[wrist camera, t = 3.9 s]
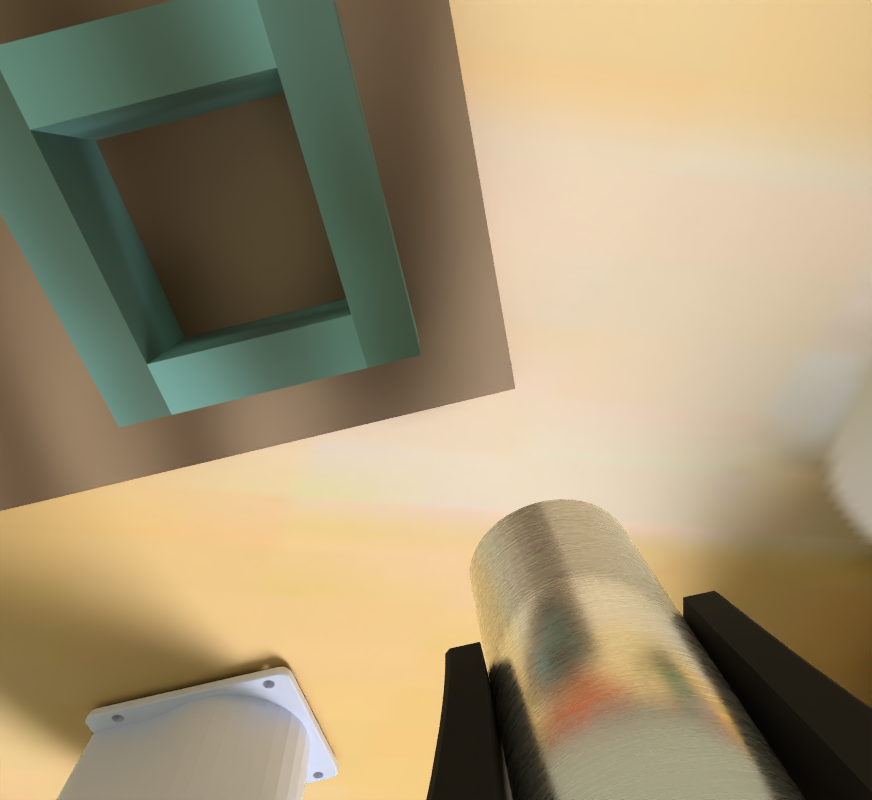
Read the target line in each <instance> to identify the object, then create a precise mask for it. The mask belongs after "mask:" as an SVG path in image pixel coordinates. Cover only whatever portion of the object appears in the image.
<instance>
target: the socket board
mask: <svg viewBox="0 0 872 800" xmlns="http://www.w3.org/2000/svg"><path fill="white" fill-rule="evenodd" d="M511 389H515V385H514V379H513V373H512V367H511V361H510V355H509V349H508V344H507V338H506V332H505V326H504V320H503V314H502V309H501V303H500V297H499V291H498V285H497V279H496V274H495V268H494V262H493V256H492V250H491V244H490V238H489V233H488V227H487V221H486V215H485V209H484V203H483V198H482V192H481V186H480V180H479V174H478V168H477V162H476V157H475V151H474V145H473V139H472V133H471V127H470V122H469V116H468V110H467V104H466V98H465V92H464V87H463V81H462V75H461V69H460V63H459V57H458V51H457V46H456V40H455V34H454V28H453V22H452V16H451V11H450V5H449V0H0V511H2V510H6V509H10V508H14V507H18V506H23V505H27V504H31V503H35V502H40V501H44V500H48V499H52V498H56V497H61V496H65V495H69V494H73V493H77V492H82V491H86V490H90V489H94V488H98V487H103V486H107V485H111V484H115V483H120V482H124V481H128V480H132V479H136V478H141V477H145V476H149V475H153V474H157V473H162V472H166V471H170V470H174V469H178V468H183V467H187V466H191V465H195V464H200V463H204V462H208V461H212V460H216V459H221V458H225V457H229V456H233V455H237V454H242V453H246V452H250V451H254V450H258V449H263V448H267V447H271V446H275V445H280V444H284V443H288V442H292V441H296V440H301V439H305V438H309V437H313V436H317V435H322V434H326V433H330V432H334V431H338V430H343V429H347V428H351V427H355V426H360V425H364V424H368V423H372V422H376V421H381V420H385V419H389V418H393V417H397V416H402V415H406V414H410V413H414V412H418V411H423V410H427V409H431V408H435V407H439V406H444V405H448V404H452V403H456V402H461V401H465V400H469V399H473V398H477V397H482V396H486V395H490V394H494V393H498V392H503V391H507V390H511Z"/></svg>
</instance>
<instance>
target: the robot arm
mask: <svg viewBox="0 0 872 800" xmlns="http://www.w3.org/2000/svg"><path fill="white" fill-rule="evenodd" d="M683 618H684V619H685V621H686V622H687V624H688V625H689V627H690V628H691V630H692V631H693V633H694V634H695V636H696V637H697V639H698V640H699V642H700V643H701V645H702V646H703V648H704V649H705V651H706V652H707V654H708V655H709V657H710V658H711V660H712V661H713V663H714V664H715V666H716V667H717V669H718V670H719V672H720V673H721V674H722V676H723V677H724V679H725V680H726V682H727V683H728V685H729V686H730V688H731V689H732V691H733V692H734V694H735V695H736V697H737V698H738V700H739V701H740V703H741V704H742V706H743V707H744V709H745V710H746V712H747V713H748V715H749V716H750V718H751V719H752V721H753V722H754V724H755V725H756V727H757V728H758V730H759V731H760V733H761V734H762V736H763V737H764V738H765V740H766V741H767V743H768V744H769V746H770V747H771V749H772V750H773V752H774V753H775V755H776V756H777V758H778V759H779V761H780V762H781V764H782V765H783V767H784V768H785V770H786V771H787V773H788V774H789V776H790V777H791V779H792V780H793V782H794V783H795V785H796V786H797V788H798V789H799V791H800V792H801V794H802V795H803V797H804V798H805V800H872V708H870V707H869V706H868V705H866V704H865V703H863V702H862V701H860V700H859V699H858V698H856V697H855V696H853V695H852V694H851V693H849V692H848V691H846V690H845V689H844V688H842V687H841V686H840V685H838V684H837V683H835V682H834V681H833V680H831V679H830V678H829V677H827V676H826V675H824V674H823V673H822V672H820V671H819V670H817V669H816V668H815V667H813V666H812V665H811V664H809V663H808V662H807V661H805V660H804V659H803V658H801V657H800V656H799V655H797V654H796V653H795V652H793V651H792V650H791V649H789V648H788V647H787V646H785V645H784V644H783V643H781V642H780V641H779V640H778V639H776V638H775V637H774V636H772V635H771V634H770V633H768V632H767V631H766V630H764V629H763V628H762V627H761V626H759V625H758V624H757V623H755V622H754V621H753V620H752V619H750V618H749V617H748V616H747V615H745V614H744V613H743V612H741V611H740V610H739V609H738V608H736V607H735V606H734V605H733V604H731V603H730V602H729V601H727V600H726V599H725V598H724V597H722V596H721V595H720V594H718V593H717V592H715V591H711V592H706V593H702V594H697V595H693V596H688V597H683ZM85 723H86V725H87V726H88V728H89V729H90V730H91V731H92V732H93V735H92V737H91V739H90V740H89V742H88V744H87V746H86V748H85V749H84V751H83V753H82V755H81V757H80V758H79V760H78V762H77V764H76V766H75V767H74V769H73V771H72V773H71V775H70V776H69V778H68V780H67V782H66V784H65V785H64V787H63V789H62V791H61V793H60V794H59V796H58V798H57V800H303V797H304V791H305V784H307V783H311V782H316V781H320V780H325V779H329V778H332V777H334V776H336V775H337V773H338V767H339V765H338V762H337V760H336V758H335V756H334V754H333V752H332V750H331V748H330V746H329V744H328V742H327V740H326V738H325V736H324V735H323V733H322V731H321V729H320V727H319V725H318V723H317V721H316V719H315V717H314V715H313V713H312V711H311V709H310V707H309V705H308V703H307V701H306V699H305V697H304V695H303V693H302V691H301V689H300V687H299V685H298V683H297V681H296V679H295V677H294V675H293V674H292V672H291V671H290V669H288V668H286V667H276V668H271V669H267V670H263V671H258V672H254V673H249V674H245V675H241V676H236V677H232V678H228V679H223V680H219V681H214V682H210V683H206V684H201V685H197V686H193V687H188V688H184V689H180V690H175V691H171V692H166V693H162V694H158V695H153V696H149V697H145V698H140V699H136V700H131V701H127V702H123V703H118V704H114V705H110V706H105V707H101V708H97V709H94V710H92V711H91V712H90V713H89V714H88V716H87V718H86V720H85ZM426 800H512V794H511V789H510V784H509V779H508V773H507V768H506V763H505V758H504V753H503V747H502V742H501V737H500V732H499V726H498V721H497V716H496V711H495V706H494V700H493V695H492V690H491V685H490V681H489V676H488V672H487V668H486V664H485V660H484V656H483V652H482V648H481V644H480V642H478V643H473V644H469V645H464V646H459V647H455V648H450V649H449V650H448V651H447V653H446V654H445V683H444V695H443V704H442V712H441V720H440V727H439V734H438V739H437V745H436V751H435V757H434V763H433V769H432V775H431V780H430V785H429V790H428V795H427V799H426Z"/></svg>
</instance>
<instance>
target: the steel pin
mask: <svg viewBox="0 0 872 800" xmlns="http://www.w3.org/2000/svg"><path fill="white" fill-rule="evenodd" d="M470 580H471V585H472V591H473V596H474V601H475V606H476V612H477V617H478V622H479V627H480V632H481V638H482V643H483V648H484V653H485V659H486V664H487V669H488V674H489V679H490V685H491V690H492V695H493V700H494V706H495V711H496V716H497V721H498V726H499V732H500V737H501V742H502V747H503V753H504V758H505V763H506V768H507V773H508V779H509V784H510V789H511V794H512V799H513V800H805V798H804V797H803V795H802V794H801V792H800V791H799V789H798V788H797V786H796V785H795V783H794V782H793V780H792V779H791V777H790V776H789V774H788V773H787V771H786V770H785V768H784V767H783V765H782V764H781V762H780V761H779V759H778V758H777V756H776V755H775V753H774V752H773V750H772V749H771V747H770V746H769V744H768V743H767V741H766V740H765V738H764V737H763V736H762V734H761V733H760V731H759V730H758V728H757V727H756V725H755V724H754V722H753V721H752V719H751V718H750V716H749V715H748V713H747V712H746V710H745V709H744V707H743V706H742V704H741V703H740V701H739V700H738V698H737V697H736V695H735V694H734V692H733V691H732V689H731V688H730V686H729V685H728V683H727V682H726V680H725V679H724V677H723V676H722V674H721V673H720V672H719V670H718V669H717V667H716V666H715V664H714V663H713V661H712V660H711V658H710V657H709V655H708V654H707V652H706V651H705V649H704V648H703V646H702V645H701V643H700V642H699V640H698V639H697V637H696V636H695V634H694V633H693V631H692V630H691V628H690V627H689V625H688V624H687V622H686V621H685V619H684V618H683V616H682V615H681V613H680V612H679V610H678V609H677V608H676V606H675V605H674V603H673V602H672V600H671V599H670V597H669V596H668V594H667V593H666V591H665V590H664V588H663V587H662V585H661V584H660V582H659V581H658V579H657V578H656V576H655V575H654V573H653V572H652V570H651V569H650V567H649V566H648V564H647V563H646V561H645V560H644V558H643V557H642V555H641V554H640V552H639V551H638V549H637V548H636V546H635V545H634V544H633V542H632V541H631V539H630V538H629V536H628V535H627V533H626V532H625V530H624V529H623V527H622V526H621V524H620V523H619V522H618V521H617V520H616V519H615V518H614V517H613V516H612V515H611V514H610V513H608V512H606V511H605V510H603V509H602V508H600V507H597V506H595V505H593V504H589V503H586V502H582V501H576V500H549V501H544V502H538V503H535V504H532V505H528V506H526V507H523V508H521V509H519V510H517V511H515V512H513V513H511V514H509V515H507V516H506V517H505V518H503V519H502V520H500V521H499V522H498V523H497V524H495V525H494V526H493V527H492V528H491V529H490V530H489V531H488V532H487V533H486V535H485V536H484V537H483V538H482V540H481V541H480V543H479V544H478V546H477V548H476V550H475V552H474V555H473V558H472V561H471V567H470Z"/></svg>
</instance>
